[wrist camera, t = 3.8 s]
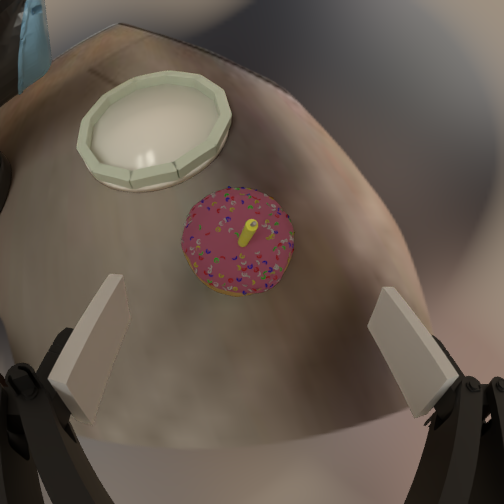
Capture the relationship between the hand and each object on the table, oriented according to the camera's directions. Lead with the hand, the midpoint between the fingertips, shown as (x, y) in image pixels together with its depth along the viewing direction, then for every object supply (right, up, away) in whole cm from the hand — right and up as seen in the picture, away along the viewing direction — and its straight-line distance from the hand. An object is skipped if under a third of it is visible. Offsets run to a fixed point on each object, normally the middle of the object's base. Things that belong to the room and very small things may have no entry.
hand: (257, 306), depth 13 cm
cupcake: (-2, +2, +12) cm, 12 cm away
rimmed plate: (-12, +17, +16) cm, 26 cm away
